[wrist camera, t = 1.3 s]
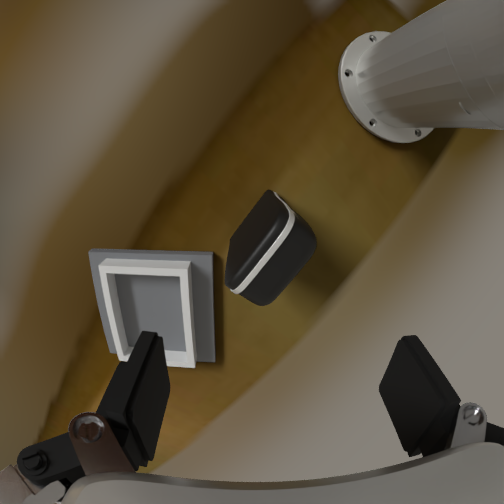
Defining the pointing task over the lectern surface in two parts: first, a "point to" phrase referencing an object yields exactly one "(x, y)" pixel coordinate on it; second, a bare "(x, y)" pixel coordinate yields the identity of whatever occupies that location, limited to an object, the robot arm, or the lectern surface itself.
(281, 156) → the lectern surface
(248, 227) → the battery charger
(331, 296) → the lectern surface
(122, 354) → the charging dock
